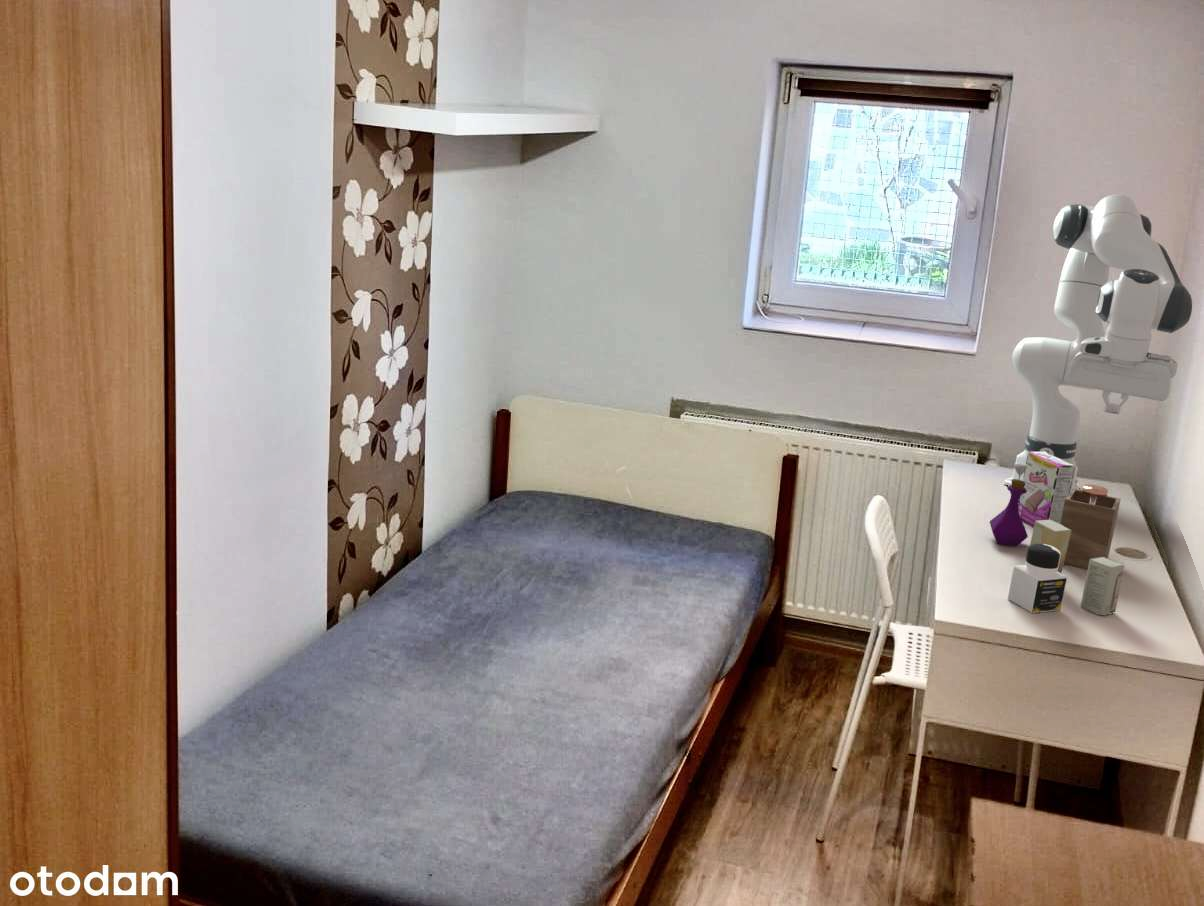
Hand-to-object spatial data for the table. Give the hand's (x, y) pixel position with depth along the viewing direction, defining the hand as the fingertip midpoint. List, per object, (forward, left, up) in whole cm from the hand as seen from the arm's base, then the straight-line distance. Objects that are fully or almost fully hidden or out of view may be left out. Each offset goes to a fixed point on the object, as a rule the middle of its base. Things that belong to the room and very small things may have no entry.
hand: (1111, 412), depth 265 cm
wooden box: (+5, 0, -32) cm, 32 cm away
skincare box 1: (+24, -5, -32) cm, 40 cm away
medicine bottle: (+39, -4, -32) cm, 50 cm away
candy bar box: (-14, -12, -32) cm, 37 cm away
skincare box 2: (+33, +7, -32) cm, 46 cm away
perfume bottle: (+4, -16, -32) cm, 36 cm away
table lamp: (+5, 0, -29) cm, 29 cm away
